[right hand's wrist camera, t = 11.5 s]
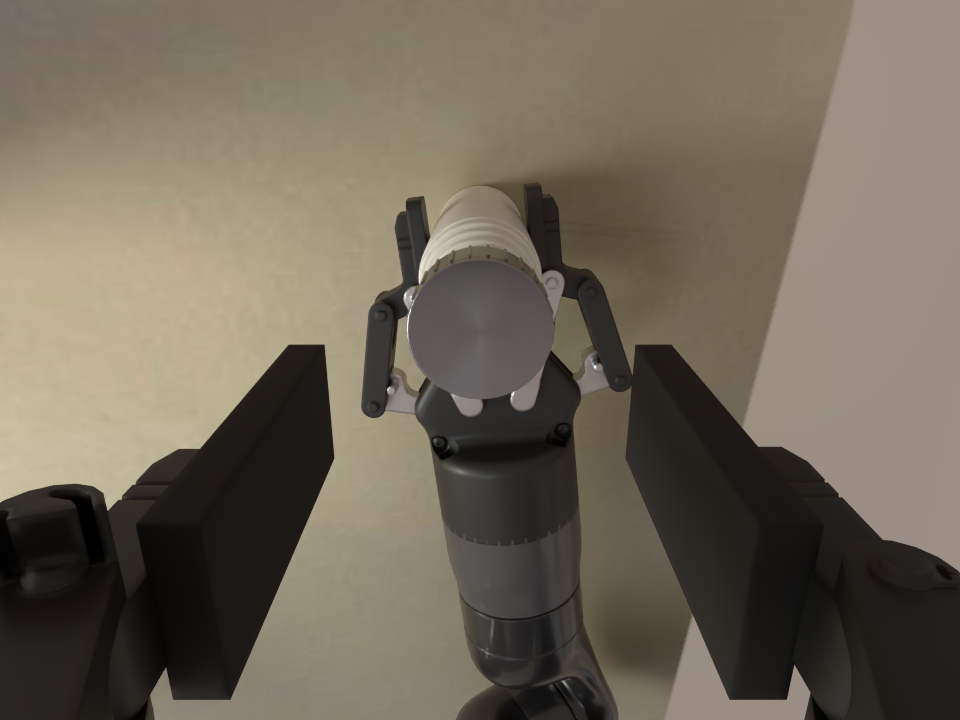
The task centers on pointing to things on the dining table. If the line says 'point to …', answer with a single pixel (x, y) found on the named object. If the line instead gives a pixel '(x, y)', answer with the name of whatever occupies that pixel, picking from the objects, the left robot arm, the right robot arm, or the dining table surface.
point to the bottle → (480, 227)
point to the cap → (480, 323)
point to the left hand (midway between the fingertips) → (472, 193)
